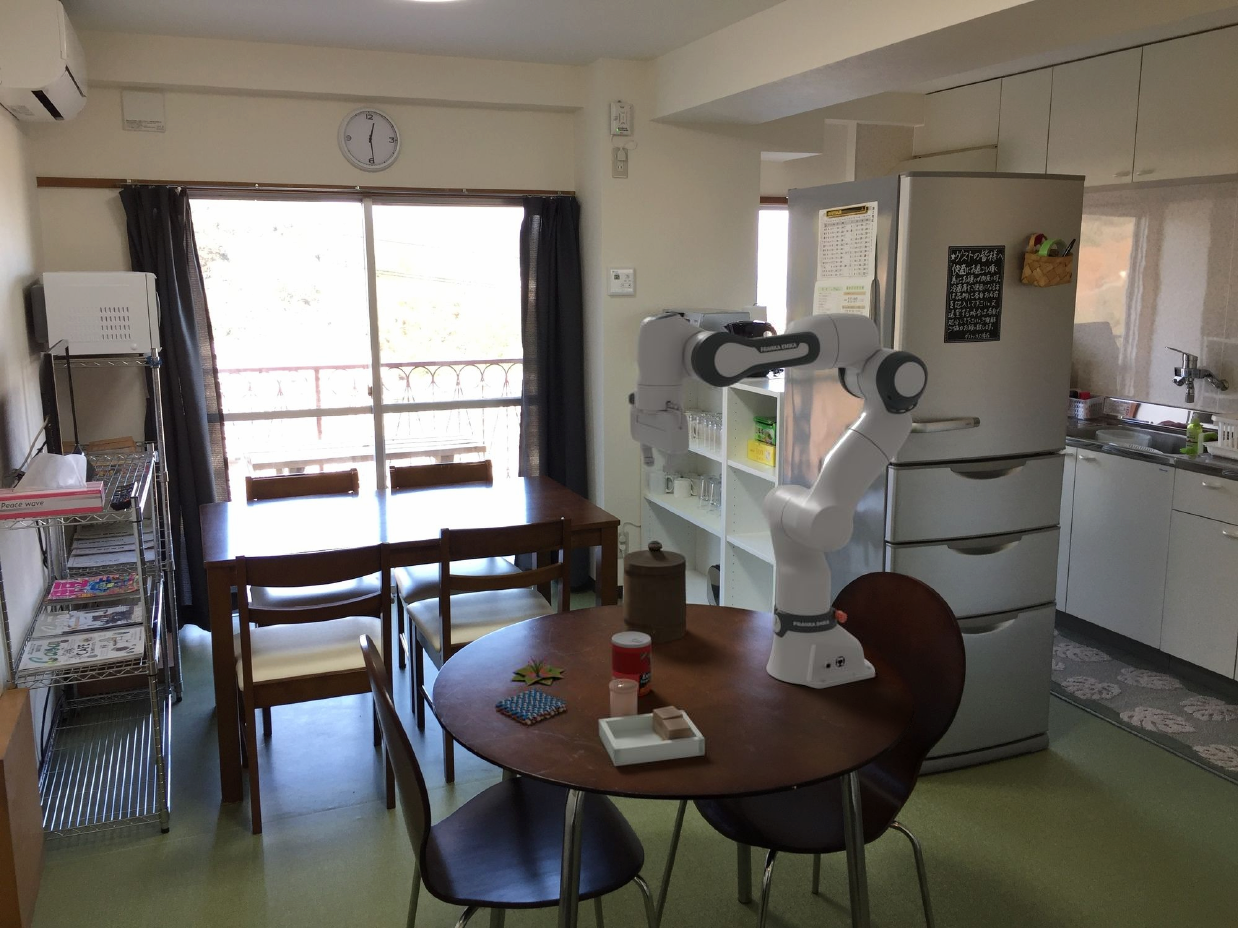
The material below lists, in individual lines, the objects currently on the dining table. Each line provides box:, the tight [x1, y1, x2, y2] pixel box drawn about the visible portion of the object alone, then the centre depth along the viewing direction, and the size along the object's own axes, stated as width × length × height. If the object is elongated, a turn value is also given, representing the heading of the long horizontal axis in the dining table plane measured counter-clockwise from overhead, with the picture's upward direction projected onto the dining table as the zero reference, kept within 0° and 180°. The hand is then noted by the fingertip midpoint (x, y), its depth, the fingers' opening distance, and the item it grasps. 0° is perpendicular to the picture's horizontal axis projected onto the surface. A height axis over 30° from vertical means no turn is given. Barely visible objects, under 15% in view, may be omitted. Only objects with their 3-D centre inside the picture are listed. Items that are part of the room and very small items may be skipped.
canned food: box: [611, 631, 652, 698], centre depth 193 cm, size 8×8×11 cm
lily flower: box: [510, 653, 566, 686], centre depth 201 cm, size 12×12×5 cm
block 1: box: [652, 705, 683, 738], centre depth 173 cm, size 4×4×4 cm
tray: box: [598, 709, 706, 767], centre depth 170 cm, size 16×12×3 cm
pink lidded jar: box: [608, 679, 638, 718], centre depth 180 cm, size 5×5×7 cm
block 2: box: [662, 718, 691, 741], centre depth 169 cm, size 4×4×4 cm
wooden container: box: [622, 540, 687, 644], centre depth 225 cm, size 15×15×22 cm
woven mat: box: [494, 688, 568, 726], centre depth 185 cm, size 10×11×2 cm
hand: (658, 470), depth 186 cm, fingers open, 8 cm apart
